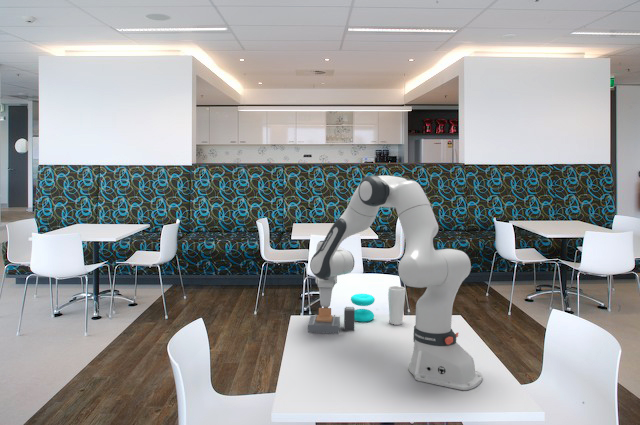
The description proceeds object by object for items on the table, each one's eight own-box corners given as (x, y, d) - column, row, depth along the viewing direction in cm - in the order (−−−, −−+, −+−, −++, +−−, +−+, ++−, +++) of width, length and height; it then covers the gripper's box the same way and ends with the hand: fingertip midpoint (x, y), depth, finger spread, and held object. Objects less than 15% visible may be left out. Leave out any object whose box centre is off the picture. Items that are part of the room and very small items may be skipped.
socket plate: (339, 323, 205) (339, 315, 205) (338, 333, 193) (338, 324, 193) (310, 322, 206) (310, 314, 206) (307, 332, 194) (307, 323, 194)
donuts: (379, 295, 212) (365, 300, 204) (378, 318, 213) (365, 324, 205) (360, 291, 218) (346, 296, 211) (359, 314, 219) (345, 319, 212)
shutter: (332, 317, 204) (332, 308, 203) (331, 321, 198) (331, 312, 197) (317, 316, 204) (317, 307, 204) (316, 321, 198) (316, 312, 198)
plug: (354, 327, 201) (354, 306, 200) (354, 330, 197) (354, 309, 196) (344, 327, 201) (344, 306, 200) (344, 330, 197) (344, 309, 196)
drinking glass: (405, 322, 208) (407, 287, 207) (401, 326, 202) (402, 290, 201) (390, 319, 211) (391, 285, 210) (385, 324, 205) (386, 288, 204)
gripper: (319, 273, 215) (319, 304, 217) (317, 284, 195) (317, 318, 196) (334, 273, 215) (333, 304, 216) (333, 284, 195) (333, 319, 196)
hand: (325, 311), depth 206 cm, fingers closed
